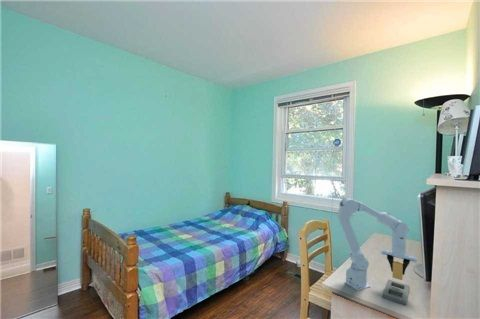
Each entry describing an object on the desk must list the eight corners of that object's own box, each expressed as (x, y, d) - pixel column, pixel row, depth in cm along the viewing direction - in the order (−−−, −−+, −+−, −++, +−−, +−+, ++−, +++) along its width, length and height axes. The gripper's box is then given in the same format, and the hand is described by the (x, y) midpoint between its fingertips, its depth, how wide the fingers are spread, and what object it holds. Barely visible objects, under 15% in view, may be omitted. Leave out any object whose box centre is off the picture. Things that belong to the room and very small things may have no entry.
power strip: (406, 305, 102) (406, 301, 102) (382, 296, 107) (382, 293, 107) (409, 288, 115) (409, 285, 115) (388, 282, 121) (388, 279, 121)
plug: (402, 280, 112) (402, 264, 112) (392, 277, 115) (392, 262, 115) (403, 277, 115) (403, 262, 115) (393, 274, 118) (393, 259, 118)
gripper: (417, 246, 113) (416, 274, 113) (383, 239, 123) (382, 265, 123) (416, 250, 108) (415, 279, 108) (380, 242, 117) (379, 269, 117)
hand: (397, 272), depth 115 cm, fingers closed on plug, 4 cm apart
